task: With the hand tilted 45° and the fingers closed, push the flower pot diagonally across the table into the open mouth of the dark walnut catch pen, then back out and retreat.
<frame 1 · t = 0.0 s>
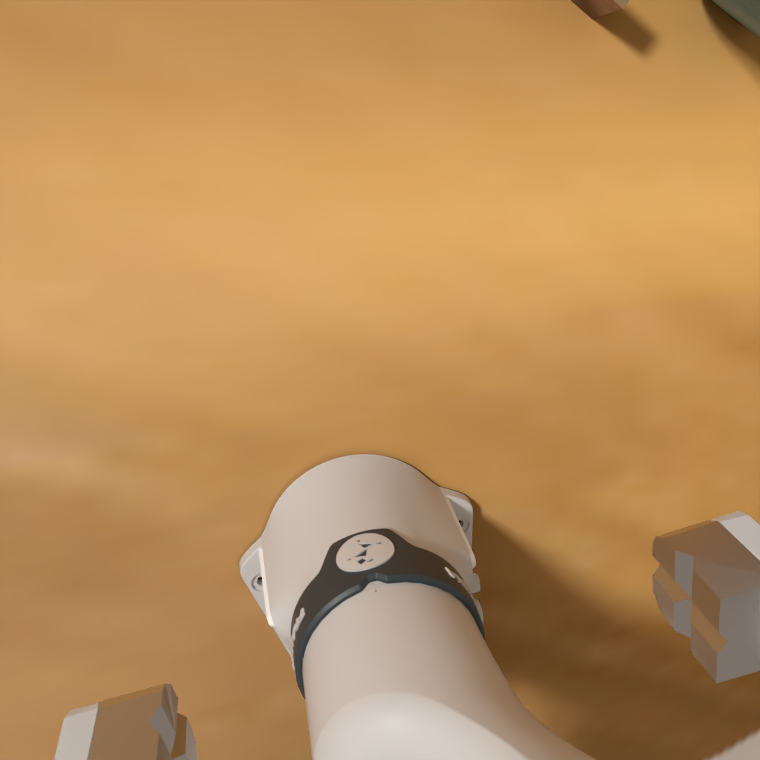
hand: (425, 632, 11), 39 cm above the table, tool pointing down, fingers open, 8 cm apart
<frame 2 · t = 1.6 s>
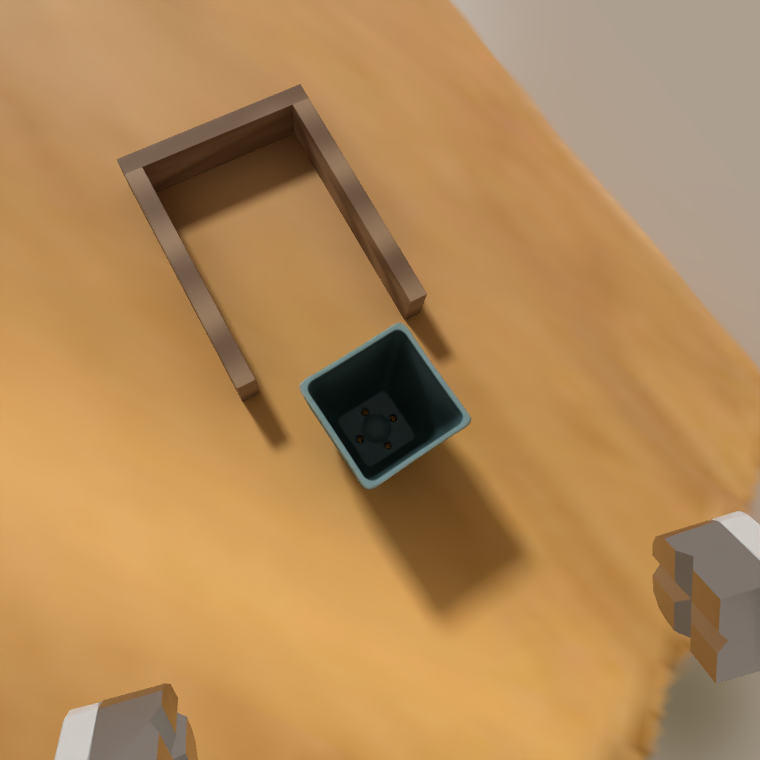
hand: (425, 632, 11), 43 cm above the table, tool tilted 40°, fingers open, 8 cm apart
flower pot: (374, 429, 57), on the table
walnut catch pen: (277, 255, 60), on the table
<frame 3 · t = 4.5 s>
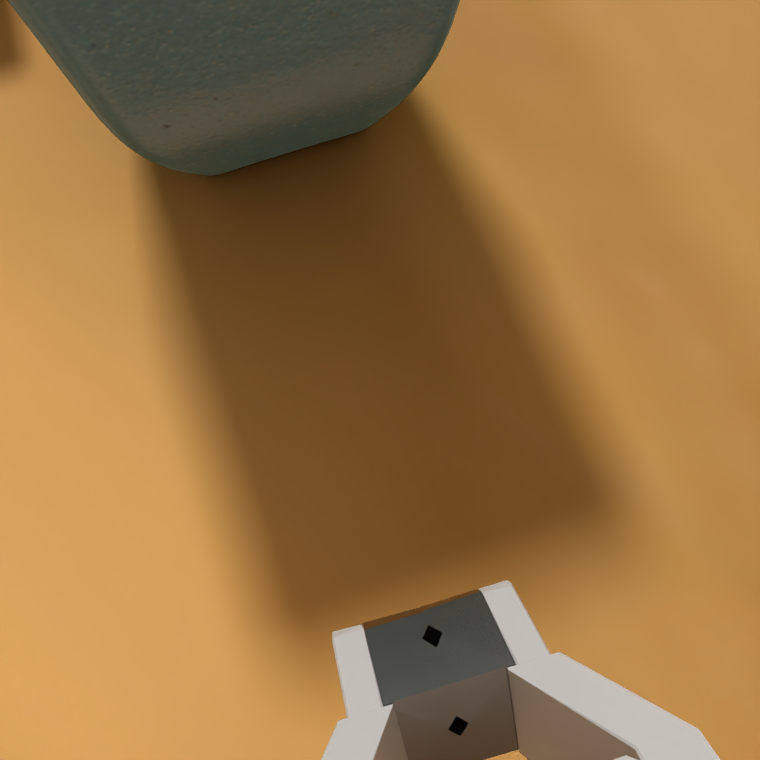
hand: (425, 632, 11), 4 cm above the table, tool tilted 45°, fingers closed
flower pot: (261, 91, 20), on the table
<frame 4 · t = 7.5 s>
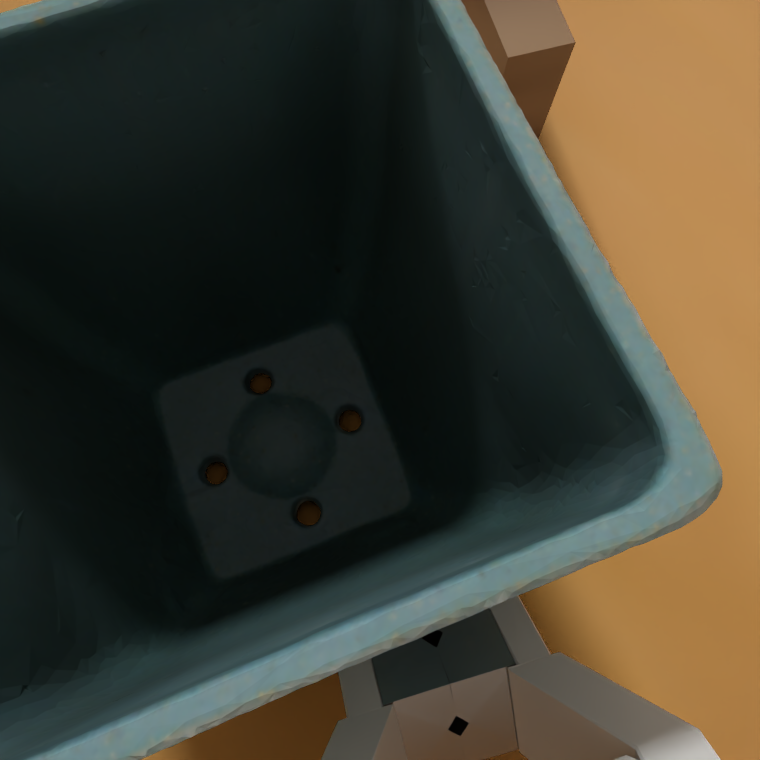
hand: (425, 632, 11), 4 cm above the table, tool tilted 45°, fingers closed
flower pot: (281, 447, 16), on the table, touching gripper
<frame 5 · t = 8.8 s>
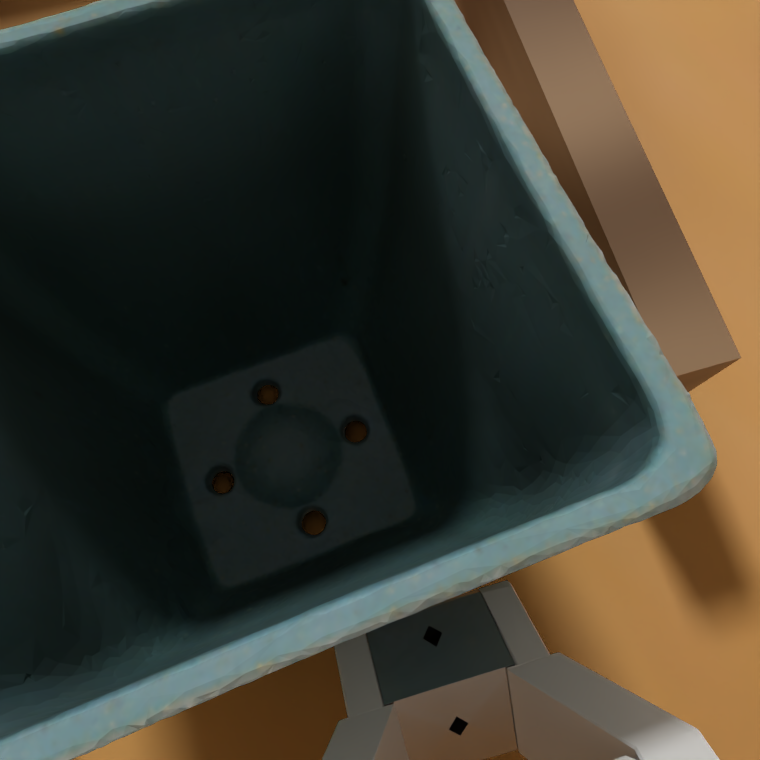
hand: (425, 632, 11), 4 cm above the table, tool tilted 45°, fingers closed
flower pot: (288, 458, 16), on the table, touching gripper
walnut catch pen: (228, 148, 19), on the table
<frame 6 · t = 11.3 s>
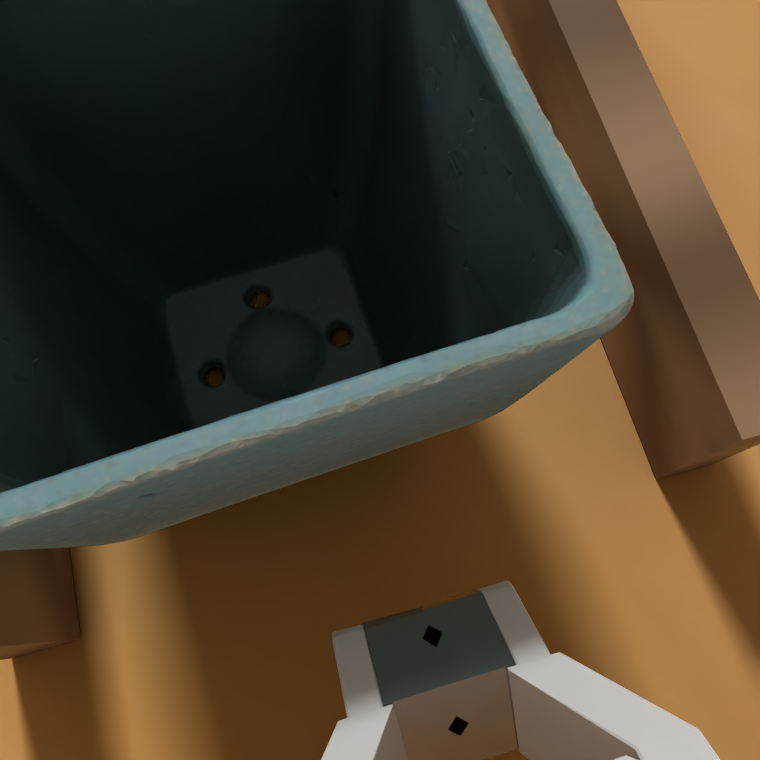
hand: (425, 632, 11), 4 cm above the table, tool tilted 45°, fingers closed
flower pot: (276, 360, 18), on the table
walnut catch pen: (283, 187, 19), on the table
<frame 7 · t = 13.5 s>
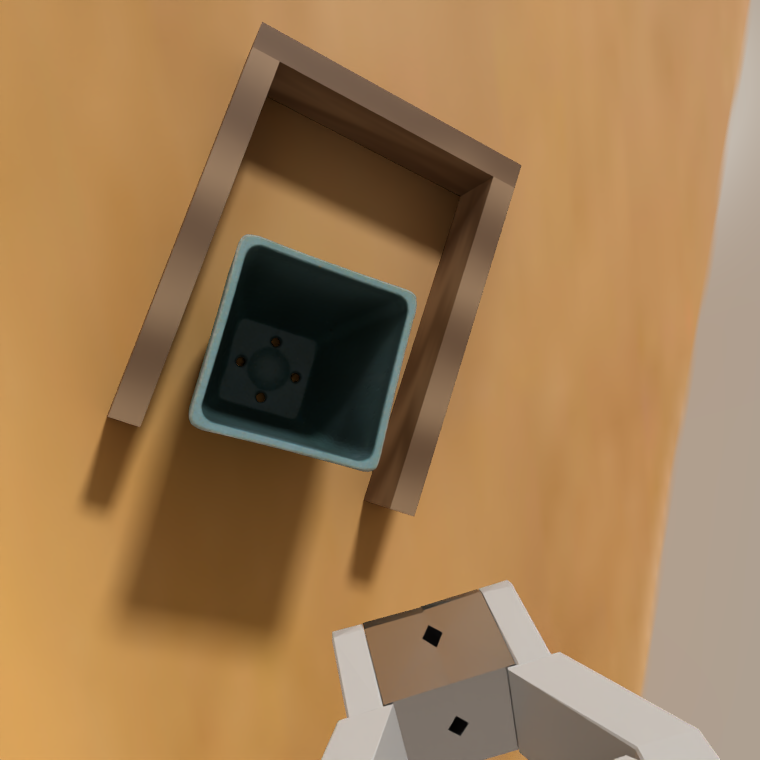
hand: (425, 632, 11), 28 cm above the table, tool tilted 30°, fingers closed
flower pot: (265, 368, 40), on the table
walnut catch pen: (314, 300, 41), on the table
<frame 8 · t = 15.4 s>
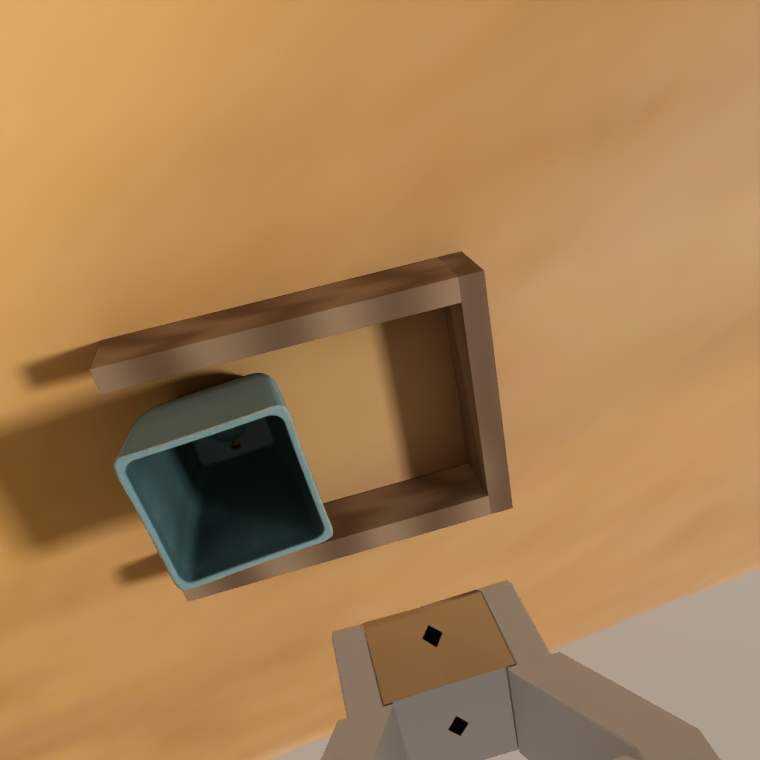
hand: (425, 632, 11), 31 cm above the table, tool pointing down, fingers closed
flower pot: (227, 418, 44), on the table
walnut catch pen: (306, 418, 45), on the table
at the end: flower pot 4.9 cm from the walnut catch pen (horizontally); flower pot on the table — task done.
